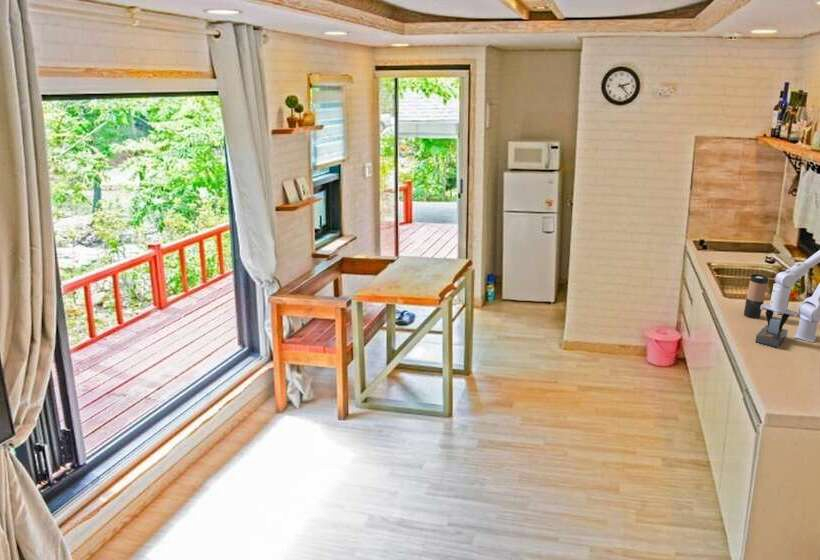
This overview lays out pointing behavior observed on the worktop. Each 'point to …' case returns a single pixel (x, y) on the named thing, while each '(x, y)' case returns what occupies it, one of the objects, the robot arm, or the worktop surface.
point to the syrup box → (773, 297)
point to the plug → (774, 325)
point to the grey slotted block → (771, 337)
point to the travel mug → (755, 295)
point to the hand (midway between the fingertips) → (774, 328)
